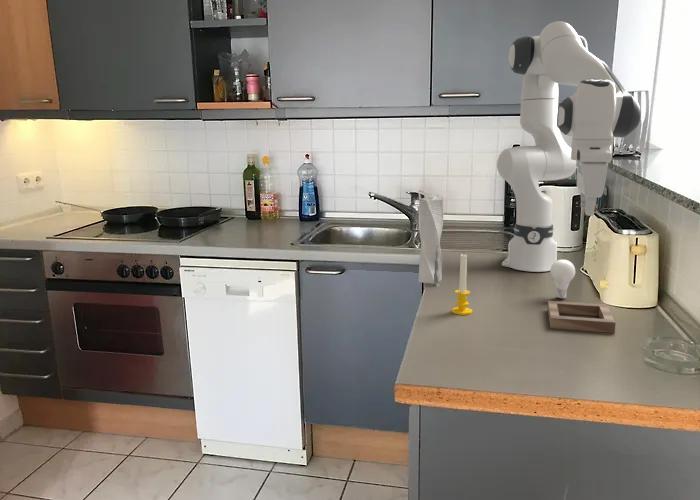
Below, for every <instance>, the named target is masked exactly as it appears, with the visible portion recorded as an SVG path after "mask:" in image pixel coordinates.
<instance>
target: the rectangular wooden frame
mask: <svg viewBox="0 0 700 500" xmlns="http://www.w3.org/2000/svg"><path fill="white" fill-rule="evenodd" d="M547 314H548V322H549V327H550V329H556V330H557V329H558V330H569V331H570V330H572V331H582V332H584V331H585V332H596V333H597V332H598V333H609V334H610V333H612V334H615V331H616V321H615V319H614V317H613V314H612V312H611V310H610V308H609V306H608V305H607V304H605V303H603V304H602V303H589V302H588V303H587V302H573V301H556V300H555V301H554V300H548V301H547ZM560 314H561V315H560ZM562 314H565V316H563V315H562ZM566 315H580V316H579V317H577V316H566ZM581 316H593V317H594V318H593V317H581ZM595 317H598V318H595Z"/></svg>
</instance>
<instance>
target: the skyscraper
mask: <svg viewBox="0 0 700 500" xmlns="http://www.w3.org/2000/svg"><path fill="white" fill-rule="evenodd" d="M421 193H422V194H423V196H424V197H423V198H421ZM444 200H445V199H444V197H442V196H441V195H438V194H436V195H426V192H424V191H423V190H418V230H419V237H420V238H419V239H420V243H421V244H420V253H419V261H418V262H419V265H418V283H423V284H429V285H433V286H434V287H440V282H441V281H442V280H443V279H442V278H443V276H442V272H443V271H442V270H443V269H442V265H443V264H442V251H441V243H440V241H441V237H442V233H443V232H442V231H443V226H444V213H445V212H444V208H445V207H444Z"/></svg>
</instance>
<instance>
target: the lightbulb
mask: <svg viewBox="0 0 700 500" xmlns="http://www.w3.org/2000/svg"><path fill="white" fill-rule="evenodd" d="M549 272H550V276H551V278H552V280H553V281H554V284H555V285H554V287H555V288H556V289H555V290H556V291H555V292H556V294H555V297H556V298H557V299H558V300H564V299H566V298H567V291H568V288H569V285H570V283H571V281H572V280H573V279H574V278H575V276H576V268H575V266H574V263H573V262H571V261H569V260H568V259H558V260H557V261H556V262H554V263H553V264H552V266H551V269H550V271H549Z"/></svg>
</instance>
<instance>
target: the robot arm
mask: <svg viewBox="0 0 700 500" xmlns="http://www.w3.org/2000/svg"><path fill="white" fill-rule="evenodd" d="M539 34H540V35H534V36H528V35H526V36H525V35H524V36H521V37H518V38H517V39H515V40H514V41H513V42H512V43H511V46H510V48H509V53H508V62H509V66H510V70H511V71H512V72H513V73H515V74H517V75H523V79H522V85H521V91H520V92H521V94H520V116H519V117H520V118H519V121H520V126H521V129H523V130H524V131H525V132H526V133H528V134H530V135H531V136H532V138H533V139H534V143H535V144H534V145H519V146H513V147H509V148H506V149H503V150H502V151H501V153H500V154H499V155H498V157H497V161H496V168H497V172H498V174H499V176H500V177H501V178H502V179H503V180H504V181H506V183H508V185H509V186H510V188H511V189H512V191H513V193H514V197H515V203H516V206H515V207H516V209H515V211H516V215H515V216H516V218H515V219H516V220H515V223H514V226H513V227H514V228H513V235H514V236H513V237H512V238H511V239H510V240H509V242H508V244H507V245H508V246H507V250H508V252H507V257H506V258H505V259H504V260H503V261H502V262H501V266H503V267H507V268H512V269H513V270H517V271H523V272H535V273H540V272H550V269H551V266H552V264H553V263H554V262H556V261H557V257H558V242H556V241H555V240H554V238H553V236H554V225H553V214H554V212H553V211H554V202H553V199H552V198H551V197H550V196H549V195H548V194H546V193H545V192H542V191H541V189H540V184H539V181H542V182H543V181H545V182H546V181H558V180H564V179H566V178H569V177H571V176H573V174H575V172H576V170H577V175H576V188H578V190H579V191H580V208H581V209H582V210H584V213H585V215H586V216H590V217H591V216H592V217H593V216H594V215H595V208H596V205H597V200H598V199H597V198H602V197H603V194H604V190H605V186H606V179H607V175H608V174H607V173H608V166H609V163H610V164H611V162H612V160H613V151H614V150H613V149H614V147H613V146H614V138H626V136H627V137H628V136H629V135H630V134H631V133H632V132H634V131H635V129H636V128H637V127H638V126H639V124H640V121H641V114H642V113H641V112H642V111H641V107H640V104H639V102H638V100H637V99H636V98H635V97H634V96H633V95H632V94H630V92H628V91H627V90H626V89H625V87H624V86H623V84H622V83H621V82H620V81H619V79H618V78H617V76H616V75H615V74H614V72H613V71H612V70H611V68H610V67H609V66H608V64H607V63H606V62H605V61H603V60H602V59H601V58H598V57H596V56H595V55H594V54H593V53H591V52H589V48H588V42H587V40H586V38H585V37H584V36H582V35H580V34H579V35H578V33H577V32H576V30H575V29H574V28H573V26H572V25H570V24H569V23H568V22H565V21H562V20H561V21H559V20H558V21H553V22H551V23H548V24H547V25H546V26H544V28H542V31H540V33H539ZM559 85H563V86H564V85H565V86H571V87H576V92H575V93H574V94H572V95H571V96H567V97H566V98H565V99H563V100H562V101H561V103H559ZM561 133H562V134H563V135H565V136H568V137H569V136H570V137H571V147H570V146H569V145H568V144H567V143H566V141H565V140H564V137H563V136H562V134H561Z"/></svg>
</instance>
